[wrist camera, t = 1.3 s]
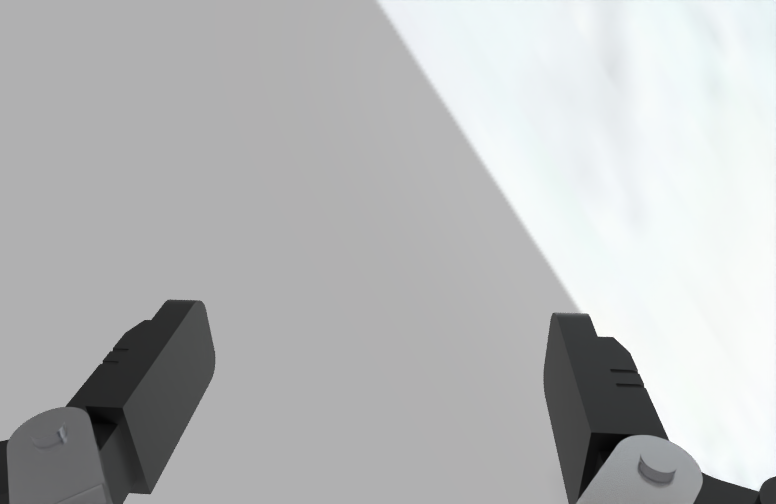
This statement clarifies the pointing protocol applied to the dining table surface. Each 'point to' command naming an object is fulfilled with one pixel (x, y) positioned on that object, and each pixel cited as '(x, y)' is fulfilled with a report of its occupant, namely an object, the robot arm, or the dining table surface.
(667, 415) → the dining table surface
